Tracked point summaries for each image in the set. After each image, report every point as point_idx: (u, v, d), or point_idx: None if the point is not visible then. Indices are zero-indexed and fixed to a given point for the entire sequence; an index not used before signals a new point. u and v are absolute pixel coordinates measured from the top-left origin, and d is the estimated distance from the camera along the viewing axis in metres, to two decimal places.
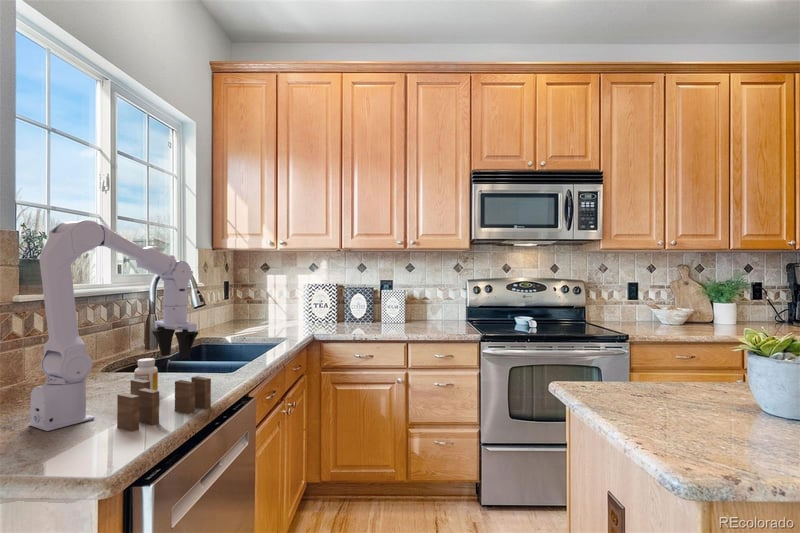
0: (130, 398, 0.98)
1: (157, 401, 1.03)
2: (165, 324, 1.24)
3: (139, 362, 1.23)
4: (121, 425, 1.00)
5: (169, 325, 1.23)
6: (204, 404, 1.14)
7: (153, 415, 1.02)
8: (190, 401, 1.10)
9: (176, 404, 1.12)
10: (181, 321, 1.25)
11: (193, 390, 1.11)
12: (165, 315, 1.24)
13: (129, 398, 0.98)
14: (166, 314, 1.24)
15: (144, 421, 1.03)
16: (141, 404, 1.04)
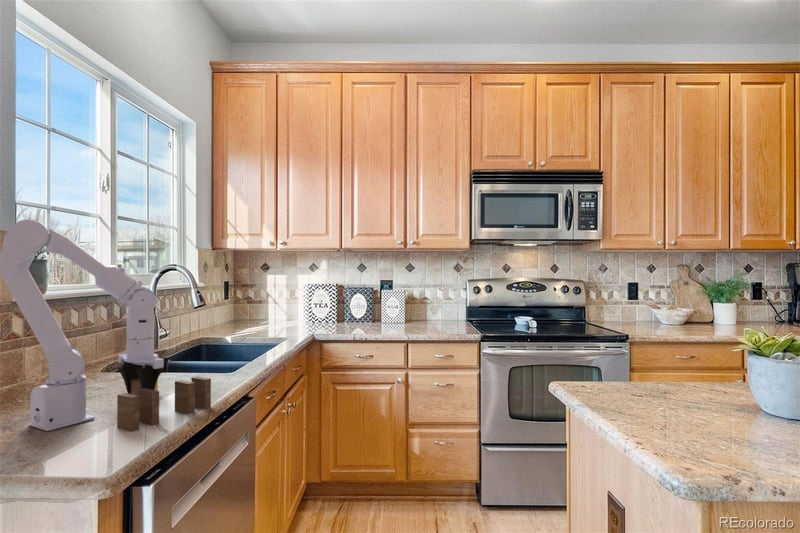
0: (130, 398, 0.98)
1: (157, 401, 1.03)
2: (128, 360, 1.10)
3: None
4: (121, 425, 1.00)
5: (132, 361, 1.10)
6: (204, 404, 1.14)
7: (153, 415, 1.02)
8: (190, 401, 1.10)
9: (176, 404, 1.12)
10: (146, 356, 1.11)
11: (193, 390, 1.11)
12: (128, 350, 1.10)
13: (129, 398, 0.98)
14: (129, 348, 1.10)
15: (144, 421, 1.03)
16: (141, 404, 1.04)
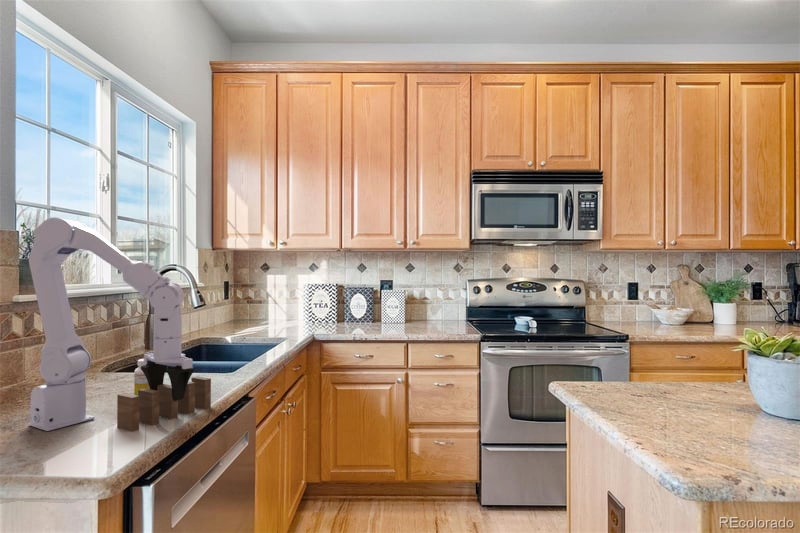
0: (130, 398, 0.98)
1: (157, 401, 1.03)
2: (155, 360, 1.05)
3: (139, 362, 1.23)
4: (121, 425, 1.00)
5: (160, 361, 1.05)
6: (204, 404, 1.14)
7: (153, 415, 1.02)
8: (190, 401, 1.10)
9: None
10: (174, 356, 1.06)
11: (193, 390, 1.11)
12: (155, 349, 1.05)
13: (129, 398, 0.98)
14: (156, 347, 1.05)
15: (144, 421, 1.03)
16: (141, 404, 1.04)
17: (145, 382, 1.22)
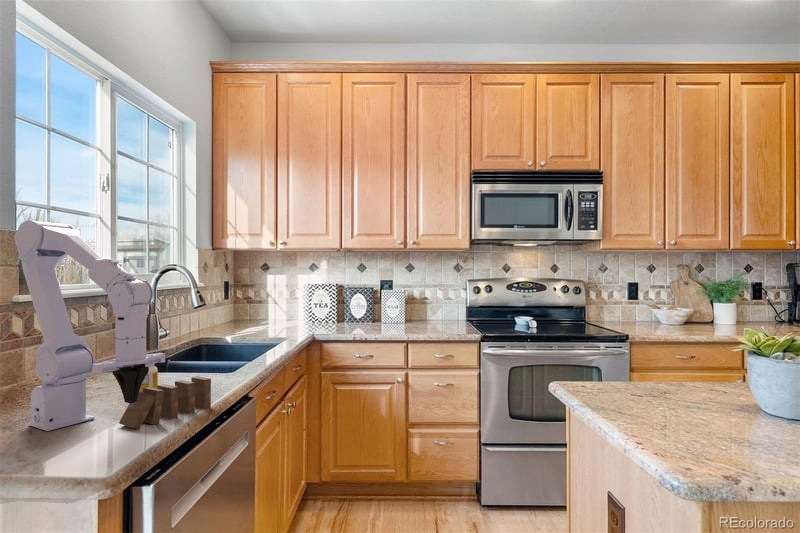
0: (148, 395, 1.02)
1: (160, 400, 1.04)
2: None
3: None
4: (125, 420, 1.00)
5: None
6: (204, 404, 1.14)
7: (154, 413, 1.02)
8: (190, 401, 1.10)
9: None
10: (116, 358, 0.98)
11: (193, 390, 1.11)
12: None
13: (147, 395, 1.02)
14: None
15: (144, 420, 1.03)
16: None
17: (145, 382, 1.22)
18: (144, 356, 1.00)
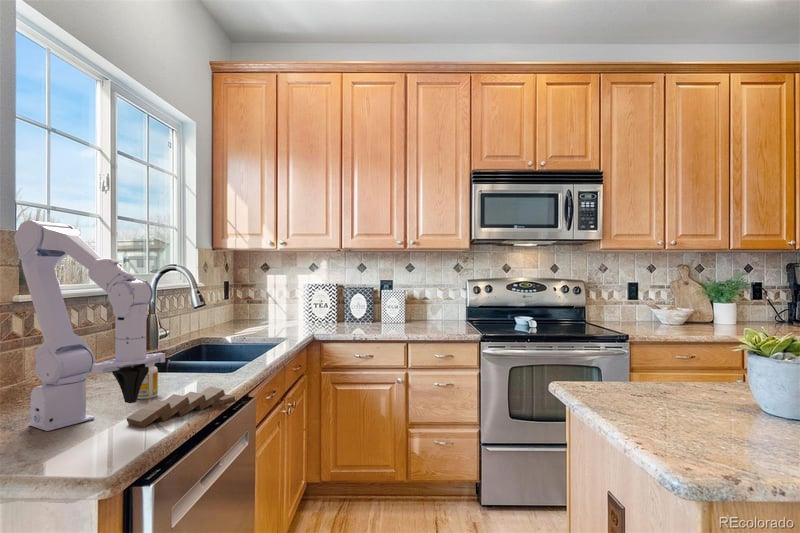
0: (166, 402, 1.05)
1: (181, 406, 1.08)
2: None
3: None
4: (134, 416, 1.02)
5: None
6: None
7: (169, 410, 1.06)
8: (209, 399, 1.15)
9: None
10: (116, 358, 0.98)
11: (218, 397, 1.17)
12: None
13: (164, 402, 1.06)
14: None
15: None
16: None
17: (145, 382, 1.22)
18: (144, 356, 1.00)
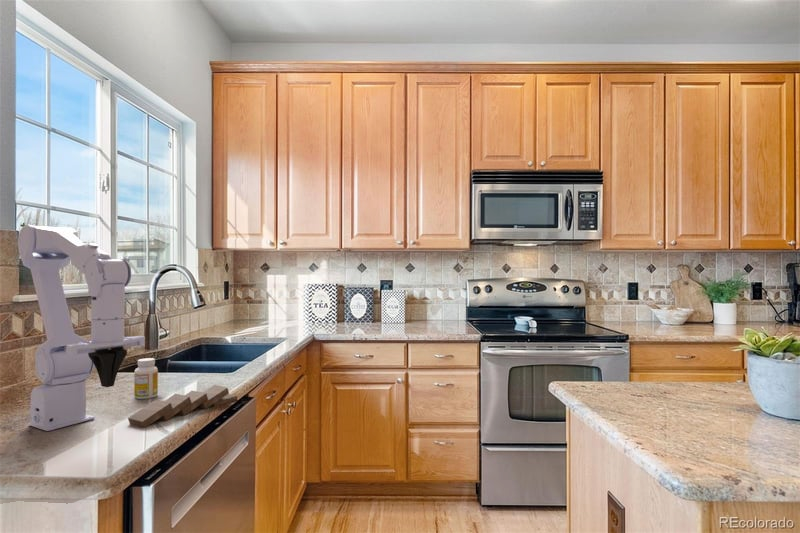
0: (168, 403, 1.06)
1: (183, 406, 1.09)
2: None
3: (139, 362, 1.23)
4: (136, 416, 1.02)
5: None
6: (217, 401, 1.17)
7: (172, 410, 1.06)
8: (214, 398, 1.15)
9: None
10: (92, 340, 0.94)
11: (222, 395, 1.18)
12: None
13: (166, 403, 1.06)
14: None
15: None
16: None
17: (145, 382, 1.22)
18: (122, 338, 0.96)
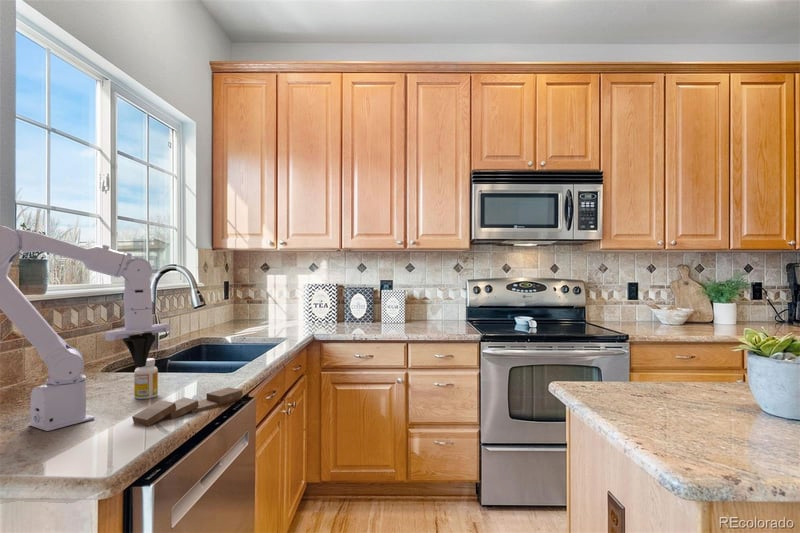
0: (172, 403, 1.07)
1: (190, 408, 1.10)
2: None
3: None
4: (140, 415, 1.03)
5: None
6: None
7: (179, 410, 1.08)
8: (229, 395, 1.19)
9: (213, 392, 1.20)
10: (126, 327, 1.10)
11: (237, 396, 1.21)
12: None
13: (170, 403, 1.07)
14: None
15: None
16: (175, 403, 1.11)
17: (145, 382, 1.22)
18: (151, 325, 1.12)
